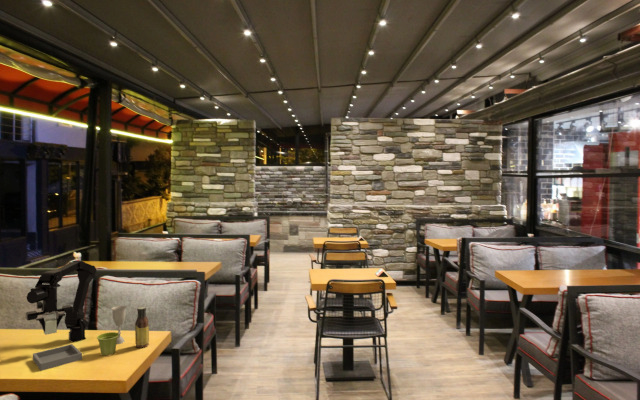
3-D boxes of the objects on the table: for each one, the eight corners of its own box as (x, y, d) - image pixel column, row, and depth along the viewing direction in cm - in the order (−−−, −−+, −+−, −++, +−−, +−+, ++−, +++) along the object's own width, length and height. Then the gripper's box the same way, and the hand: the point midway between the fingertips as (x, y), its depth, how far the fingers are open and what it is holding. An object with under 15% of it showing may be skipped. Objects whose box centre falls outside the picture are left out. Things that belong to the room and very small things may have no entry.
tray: (72, 350, 195) (72, 344, 195) (82, 359, 184) (81, 353, 184) (32, 359, 184) (32, 353, 184) (40, 370, 173) (40, 364, 173)
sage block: (54, 330, 195) (54, 318, 195) (56, 332, 192) (56, 320, 192) (43, 332, 192) (43, 320, 192) (45, 334, 189) (45, 322, 188)
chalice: (130, 340, 208) (129, 306, 207) (119, 345, 201) (119, 310, 201) (119, 339, 210) (118, 305, 210) (108, 343, 204) (108, 308, 203)
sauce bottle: (138, 343, 203) (137, 305, 203) (150, 343, 204) (150, 305, 203) (133, 349, 197) (132, 309, 196) (146, 348, 197) (145, 309, 197)
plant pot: (123, 351, 194) (123, 333, 194) (105, 358, 185) (105, 340, 185) (110, 348, 198) (110, 331, 198) (92, 355, 189) (92, 337, 189)
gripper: (68, 291, 204) (68, 321, 204) (23, 298, 191) (23, 330, 191) (73, 295, 196) (73, 327, 196) (27, 302, 183) (27, 336, 183)
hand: (50, 330), depth 192 cm, fingers closed on sage block, 4 cm apart
